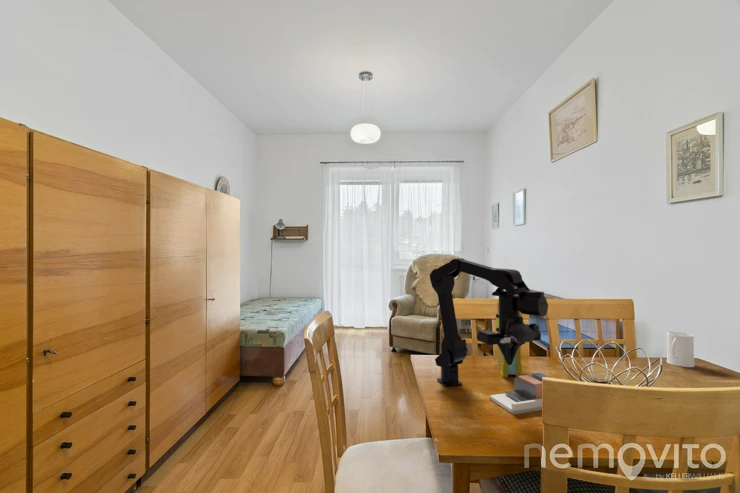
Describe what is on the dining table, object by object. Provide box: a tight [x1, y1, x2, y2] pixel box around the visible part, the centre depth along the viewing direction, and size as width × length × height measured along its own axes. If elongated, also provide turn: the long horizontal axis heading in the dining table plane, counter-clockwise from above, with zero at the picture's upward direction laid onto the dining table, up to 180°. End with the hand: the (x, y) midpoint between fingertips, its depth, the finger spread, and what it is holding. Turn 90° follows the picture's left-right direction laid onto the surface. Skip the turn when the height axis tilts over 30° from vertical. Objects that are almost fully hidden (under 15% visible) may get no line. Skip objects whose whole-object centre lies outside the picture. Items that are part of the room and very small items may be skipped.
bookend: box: [504, 377, 536, 402], centre depth 106 cm, size 8×4×4 cm, turn 17°
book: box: [495, 300, 523, 378], centre depth 135 cm, size 17×7×25 cm, turn 168°
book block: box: [518, 374, 542, 399], centre depth 107 cm, size 7×4×6 cm, turn 17°
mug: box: [666, 331, 696, 368], centre depth 141 cm, size 12×8×12 cm
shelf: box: [489, 372, 552, 415], centre depth 106 cm, size 11×19×6 cm, turn 107°
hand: (509, 364), depth 105 cm, fingers closed
